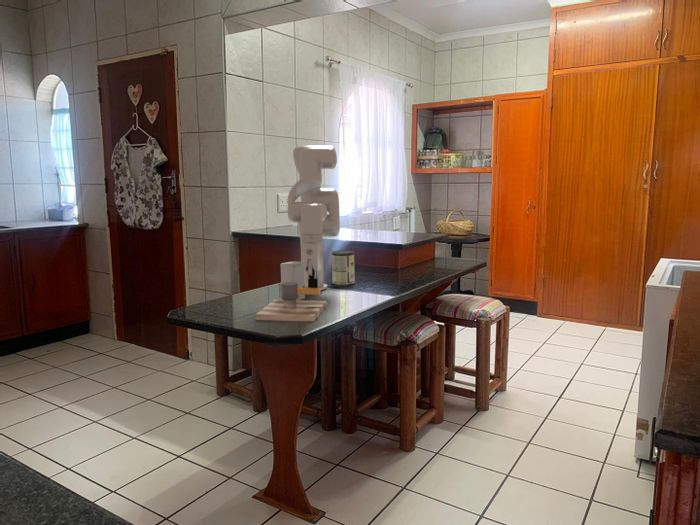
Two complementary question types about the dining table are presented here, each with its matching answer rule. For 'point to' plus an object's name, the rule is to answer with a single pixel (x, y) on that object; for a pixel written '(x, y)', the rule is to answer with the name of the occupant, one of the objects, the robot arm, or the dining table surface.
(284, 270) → the skincare box
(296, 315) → the base
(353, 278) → the coffee can
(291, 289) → the grey orange long piece
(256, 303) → the dining table surface
